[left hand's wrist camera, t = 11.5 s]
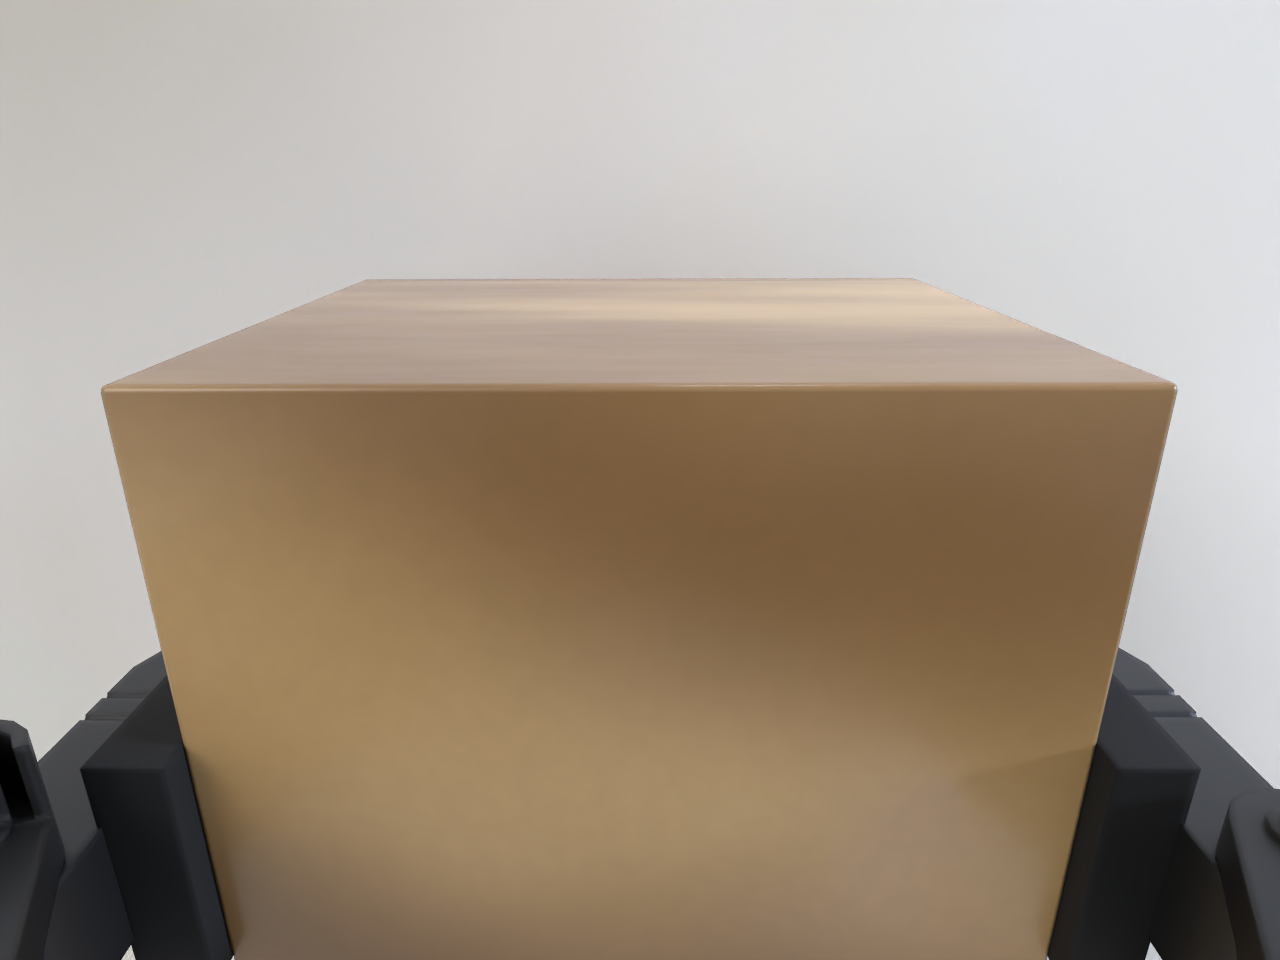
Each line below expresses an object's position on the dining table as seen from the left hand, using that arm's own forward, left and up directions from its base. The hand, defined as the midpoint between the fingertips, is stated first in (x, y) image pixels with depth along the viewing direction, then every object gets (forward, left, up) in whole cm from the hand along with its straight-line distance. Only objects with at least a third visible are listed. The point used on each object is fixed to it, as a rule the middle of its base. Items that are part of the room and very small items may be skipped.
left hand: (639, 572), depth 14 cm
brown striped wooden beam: (+23, -10, -1) cm, 25 cm away
